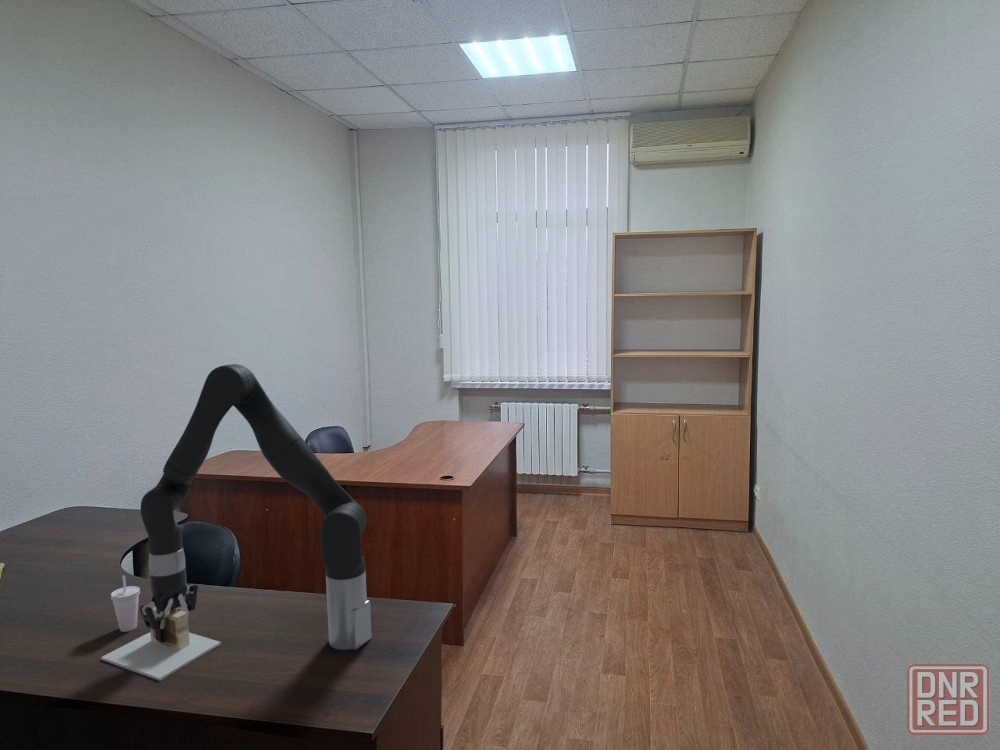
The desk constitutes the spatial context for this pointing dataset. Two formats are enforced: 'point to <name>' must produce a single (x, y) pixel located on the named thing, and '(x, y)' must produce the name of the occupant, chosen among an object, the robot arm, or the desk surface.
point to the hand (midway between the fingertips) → (172, 635)
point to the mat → (158, 655)
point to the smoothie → (126, 606)
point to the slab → (175, 630)
